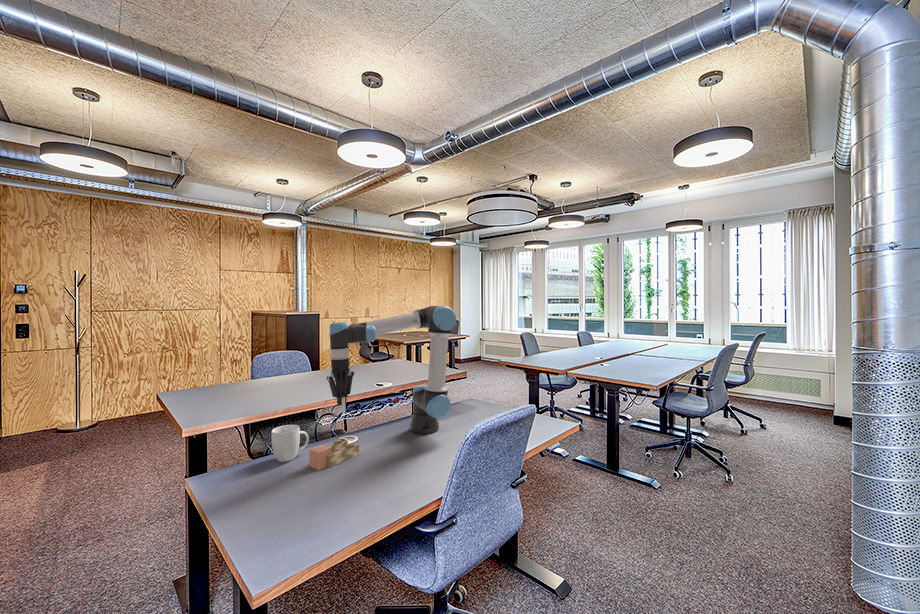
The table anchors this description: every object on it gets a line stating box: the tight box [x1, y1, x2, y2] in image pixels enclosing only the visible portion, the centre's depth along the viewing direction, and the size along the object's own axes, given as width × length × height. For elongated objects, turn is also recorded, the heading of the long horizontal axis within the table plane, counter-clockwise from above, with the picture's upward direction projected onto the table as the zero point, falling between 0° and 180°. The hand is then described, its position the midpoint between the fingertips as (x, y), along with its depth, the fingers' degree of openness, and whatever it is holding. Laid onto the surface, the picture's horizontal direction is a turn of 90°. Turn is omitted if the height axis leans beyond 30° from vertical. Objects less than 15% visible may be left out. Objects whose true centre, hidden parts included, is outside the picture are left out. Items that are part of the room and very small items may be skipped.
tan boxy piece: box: [327, 438, 360, 468], centre depth 161 cm, size 15×10×6 cm
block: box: [308, 444, 331, 471], centre depth 154 cm, size 6×6×7 cm
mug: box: [271, 424, 310, 463], centre depth 162 cm, size 15×11×13 cm
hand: (342, 412), depth 162 cm, fingers closed
